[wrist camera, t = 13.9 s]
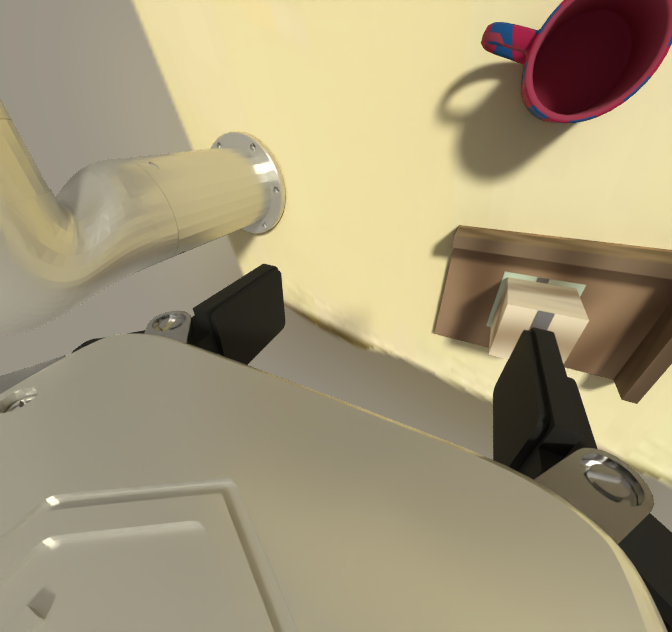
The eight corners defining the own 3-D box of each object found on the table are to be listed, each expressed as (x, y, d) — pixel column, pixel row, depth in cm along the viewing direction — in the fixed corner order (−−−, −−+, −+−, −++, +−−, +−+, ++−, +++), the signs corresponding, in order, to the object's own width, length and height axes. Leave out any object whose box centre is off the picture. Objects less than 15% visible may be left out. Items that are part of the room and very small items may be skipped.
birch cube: (507, 277, 30) (507, 304, 26) (576, 288, 28) (589, 321, 24) (491, 323, 34) (488, 355, 29) (551, 337, 32) (558, 373, 27)
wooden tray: (435, 331, 39) (429, 346, 36) (459, 225, 31) (454, 235, 28) (626, 379, 31) (637, 403, 28) (721, 255, 23) (749, 273, 21)
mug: (577, 136, 24) (596, 141, 18) (466, 85, 25) (456, 76, 20) (666, 26, 19) (722, -7, 14) (525, -29, 21) (530, -77, 16)
